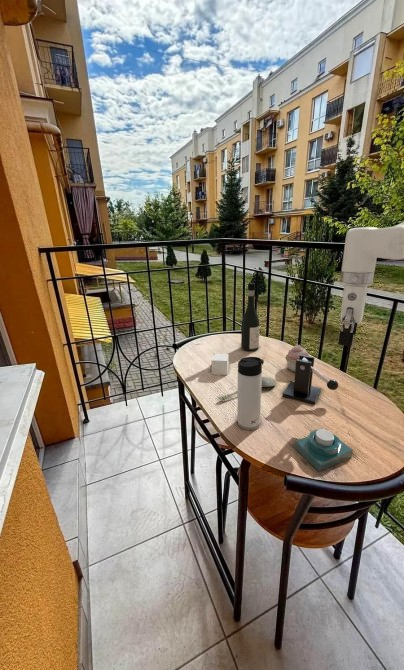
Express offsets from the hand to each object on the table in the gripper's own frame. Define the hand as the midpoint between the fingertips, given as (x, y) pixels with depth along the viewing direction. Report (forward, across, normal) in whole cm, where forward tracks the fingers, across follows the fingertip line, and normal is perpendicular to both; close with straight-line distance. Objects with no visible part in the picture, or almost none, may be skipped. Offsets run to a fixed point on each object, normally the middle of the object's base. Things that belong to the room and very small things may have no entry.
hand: (347, 339), depth 79 cm
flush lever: (+14, 0, +7) cm, 16 cm away
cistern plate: (+21, -23, 0) cm, 32 cm away
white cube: (+22, +2, +42) cm, 47 cm away
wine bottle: (+22, +28, +41) cm, 54 cm away
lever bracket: (+21, 0, +11) cm, 24 cm away
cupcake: (+22, +17, +17) cm, 32 cm away
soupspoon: (+22, -7, +27) cm, 35 cm away
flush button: (+18, -23, 0) cm, 29 cm away
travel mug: (+22, -22, +20) cm, 36 cm away
